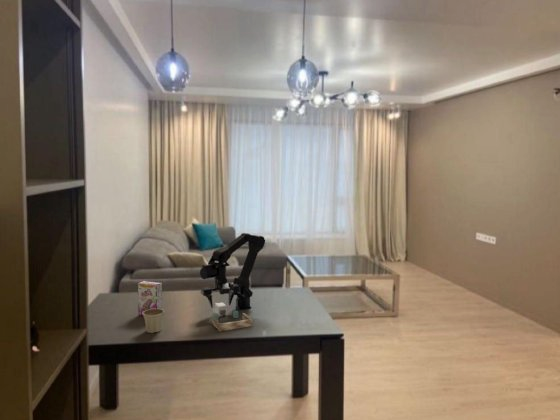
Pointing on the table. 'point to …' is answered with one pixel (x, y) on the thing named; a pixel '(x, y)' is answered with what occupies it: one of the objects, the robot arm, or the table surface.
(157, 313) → the flower pot
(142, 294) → the candy bar box
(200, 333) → the table surface
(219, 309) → the block
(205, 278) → the robot arm
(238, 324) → the open wooden frame
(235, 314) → the teal block pair
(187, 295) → the table surface
